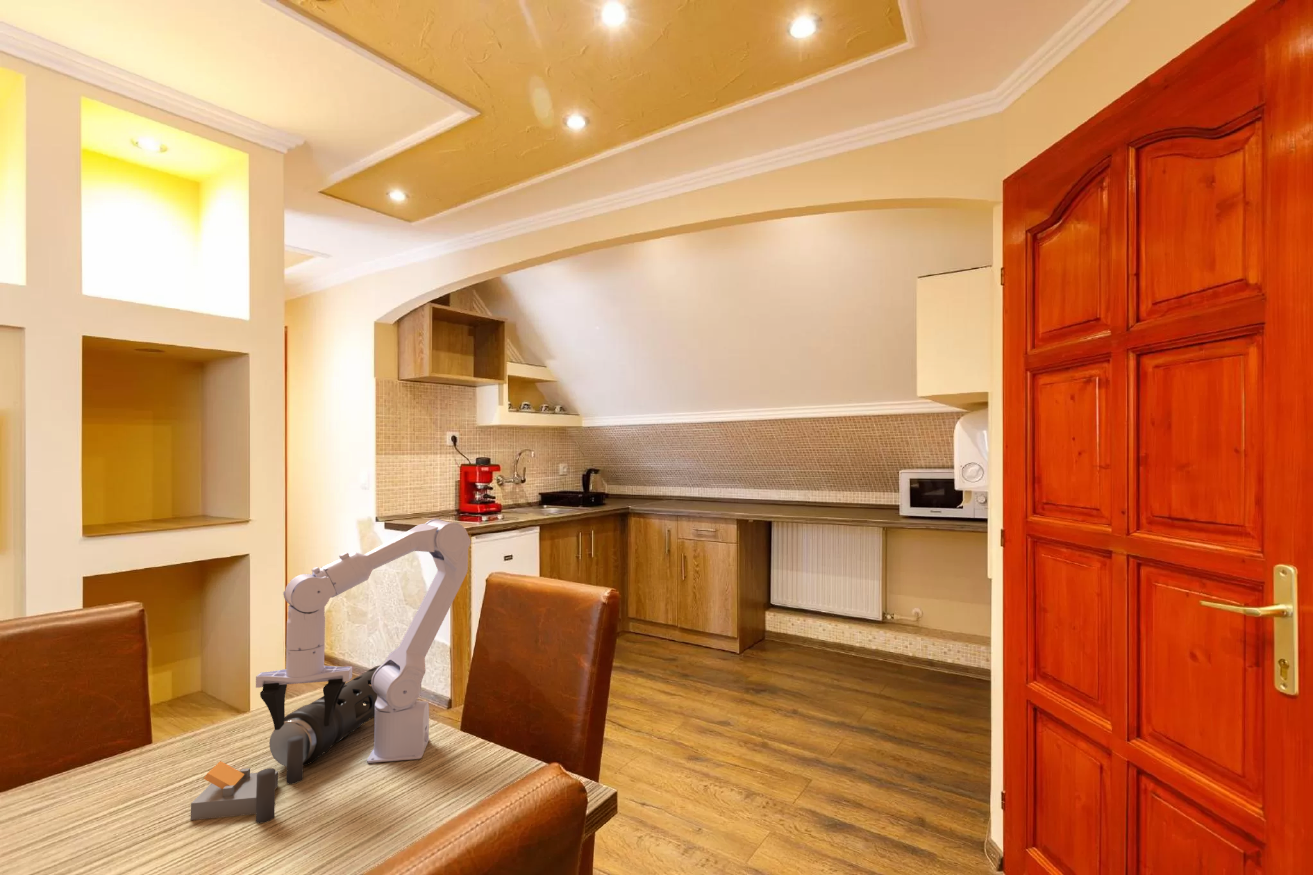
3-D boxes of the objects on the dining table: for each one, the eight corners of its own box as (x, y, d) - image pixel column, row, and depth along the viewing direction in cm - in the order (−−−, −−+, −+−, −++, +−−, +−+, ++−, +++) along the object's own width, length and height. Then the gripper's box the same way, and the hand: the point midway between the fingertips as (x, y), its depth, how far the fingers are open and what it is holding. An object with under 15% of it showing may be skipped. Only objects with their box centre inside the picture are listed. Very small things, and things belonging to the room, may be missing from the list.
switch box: (277, 785, 101) (278, 763, 101) (255, 813, 93) (256, 789, 94) (218, 791, 100) (219, 767, 100) (190, 819, 92) (191, 794, 92)
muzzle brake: (362, 709, 134) (405, 704, 133) (264, 775, 106) (317, 769, 105) (356, 667, 135) (399, 661, 133) (258, 720, 107) (310, 714, 106)
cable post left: (277, 812, 94) (278, 767, 94) (270, 822, 91) (271, 775, 92) (260, 814, 93) (261, 768, 94) (252, 823, 91) (253, 777, 91)
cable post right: (304, 775, 105) (305, 735, 105) (299, 783, 102) (300, 741, 102) (289, 777, 104) (290, 736, 104) (283, 784, 102) (284, 742, 102)
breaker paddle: (244, 774, 99) (220, 760, 98) (232, 786, 95) (207, 772, 94) (240, 779, 98) (216, 766, 98) (228, 792, 95) (203, 778, 94)
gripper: (357, 636, 109) (356, 711, 109) (268, 640, 106) (267, 718, 106) (346, 648, 102) (344, 729, 102) (250, 654, 99) (248, 737, 99)
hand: (304, 725), depth 103 cm, fingers open, 7 cm apart
